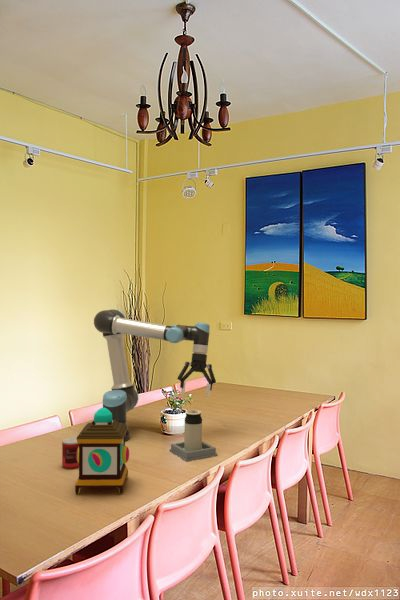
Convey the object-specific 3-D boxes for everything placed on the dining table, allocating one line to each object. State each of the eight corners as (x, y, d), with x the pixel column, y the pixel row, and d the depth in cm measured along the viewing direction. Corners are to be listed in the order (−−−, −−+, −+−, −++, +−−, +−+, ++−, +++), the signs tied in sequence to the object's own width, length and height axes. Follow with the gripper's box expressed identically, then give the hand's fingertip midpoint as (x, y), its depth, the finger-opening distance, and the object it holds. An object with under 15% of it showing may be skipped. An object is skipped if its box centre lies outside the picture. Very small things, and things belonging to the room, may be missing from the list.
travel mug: (186, 454, 227) (187, 414, 226) (182, 448, 234) (182, 410, 234) (203, 452, 229) (204, 413, 229) (199, 447, 237) (199, 409, 236)
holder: (186, 461, 221) (186, 453, 220) (169, 451, 234) (169, 443, 234) (217, 455, 229) (217, 448, 229) (199, 446, 242) (199, 439, 242)
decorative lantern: (131, 476, 203) (132, 401, 202) (126, 496, 183) (126, 414, 183) (81, 476, 202) (81, 401, 202) (70, 496, 182) (70, 414, 182)
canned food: (73, 461, 219) (73, 436, 219) (84, 465, 214) (85, 440, 214) (58, 466, 213) (58, 440, 213) (69, 470, 208) (69, 444, 208)
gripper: (218, 355, 263) (214, 397, 261) (174, 350, 254) (169, 393, 251) (225, 356, 256) (220, 398, 254) (179, 350, 247) (174, 394, 244)
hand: (195, 396), depth 252 cm, fingers open, 13 cm apart
